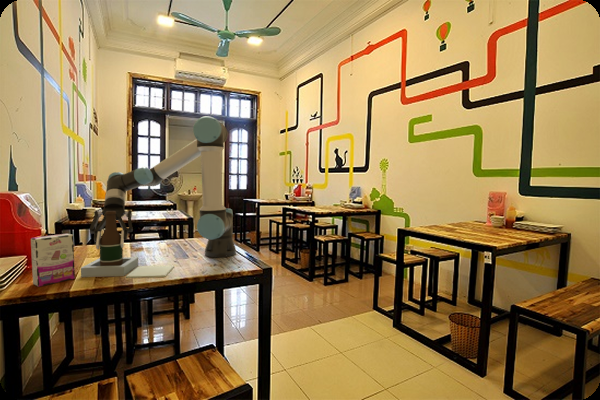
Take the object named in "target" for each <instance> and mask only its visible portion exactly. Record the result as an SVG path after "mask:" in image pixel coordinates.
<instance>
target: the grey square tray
mask: <svg viewBox="0 0 600 400" xmlns="http://www.w3.org/2000/svg"><path fill="white" fill-rule="evenodd" d="M137 267H139V257H138V256H136V257H135V256H134V257H132V256H131V257H128V256H125V257H123V264H122V265H121V266H100V257H99V258H97V259H95V260H93V261H91V262H90V263H87V264H86V265H84V266H81V268H80V278H93V277H94V278H95V277H98V278H99V277H102V278H103V277H126V276H127V275H128V274H130V273H131V272H132V271H133V270H135V269H136V268H137Z"/></svg>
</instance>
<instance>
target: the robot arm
mask: <svg viewBox="0 0 600 400" xmlns="http://www.w3.org/2000/svg"><path fill="white" fill-rule="evenodd" d="M192 130H193V131H192V133H193V136H194V138H195V139H194V140H193V141H191V142H190V143H188V144H186V145H185V146H184V147H182V148H180V149H179V150H177V151H176V152H174V153H173V154H171V155H169V156H168V157H167V158H165V159H163V160H161V162H159V163H156V165H154V166H152V167H151V168H148V167H147V166H142V167H138V168H136V169H134V170H131V171H129V172H126V173H123V172H120V171H118V172H116V171H115V172H111V173H110V174H109V176H108V178H107V181H106V190H105V191H106V192H105V197H104V205H103V210H101V211H97V210H94V212H93V214H94V217H93V218H92V221H91V224H90V227H89V233H90V234H91V235H93V234H94V235H93V241H94V242H95V246H96V247H95V248H96V250H100V239H101V236H102V234H101V232H102V230H104V229H105V228H104V227H105V225H106V214H105V213H106V211H116V214H115V216H116V221H118V223H119V224H120V227H121V229H122V230H121V234H120V235H121V248H124V245H125V244H124V243H125V242H124V241H126V240H128V234H129V233H133V230H134V229H133V223H132V216H133V212H132V210H131V209H130V210H128V211H126V210H125V205H126V204H125V203H126V193H127V192H128V191H130V190H133V189H136V188H139V187H156V186H158V185H159V186H160V184H161V183H162V181H163V180H165V179H166V178H168V177H169V176H171V175H173V174H174V173H175V172H177V171H179V170H181V169H182V168H184V167H185V166H186V165H188V164H190V163H192V162H193V161H195V160H196V159H198V158H199V157H200V162H201V163H200V164H201V165H200V168H201V189H202V191H201V192H202V193H201V194H202V197H201V198H202V206H201V207H200V208H199V218H198V220H197V222H196V223H197V224H196V229H197V232H198V234H199V235H200V236H201V237H202V238H204V239H206V240H207V243H206V246H205V249H204V256H206V257H210V258H225V257H231V256H235V255H236V254H237V253H236V252H237V248H236V246H235V241H234V239H233V226H234V225H233V223H234V222H233V220H234V219H233V217H234V214H233V209H231V208H226V206H224V205H223V190H222V189H223V184H222V182H223V181H222V157H221V156H222V155H221V153H222V151H224V149H225V145H224V144H225V142H226V141H227V139H228V130H227V128H226V126H225V125H224V124H223V123H222V122H220V121H219V120H218V119H217V118H215V117H212V116H209V115H208V116H206V115H205V116H202V117H200V118H198V119H197V120H196V121H195V123H194V124H193V126H192ZM102 216H103V218H102V219H101V217H102ZM123 216H126V218H127V222H128V227H127V225H126V224H125V222H124V220H123ZM100 219H101V221H100ZM99 221H100V222H99ZM98 223H99V224H98Z"/></svg>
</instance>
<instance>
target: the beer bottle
mask: <svg viewBox="0 0 600 400" xmlns="http://www.w3.org/2000/svg"><path fill="white" fill-rule="evenodd" d="M105 214H106V225H105V226H104V227H105V228H104V232H103V233H102V234H101V239H100V247H99V258H100V266H121V265H122V264H123V258H124V257H123V254H124V252H123V251H124V250H123V248H124V247H123V248H121V234H120V232H119V231H118V228H117V220H116V216H115V214H116V211H106V213H105Z"/></svg>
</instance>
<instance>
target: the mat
mask: <svg viewBox="0 0 600 400" xmlns="http://www.w3.org/2000/svg"><path fill="white" fill-rule="evenodd" d="M174 268H175V265H173V264H172V265H138V266H137V267H135V268H134V269H133V270H131V271H130V272H129V273H128V274H126V275H125V278H126V279H133V278H134V279H136V278H137V279H138V278H139V279H140V278H166V277H167V276H168V275H169V273H170V272H171V271H172V270H173V269H174Z"/></svg>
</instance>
